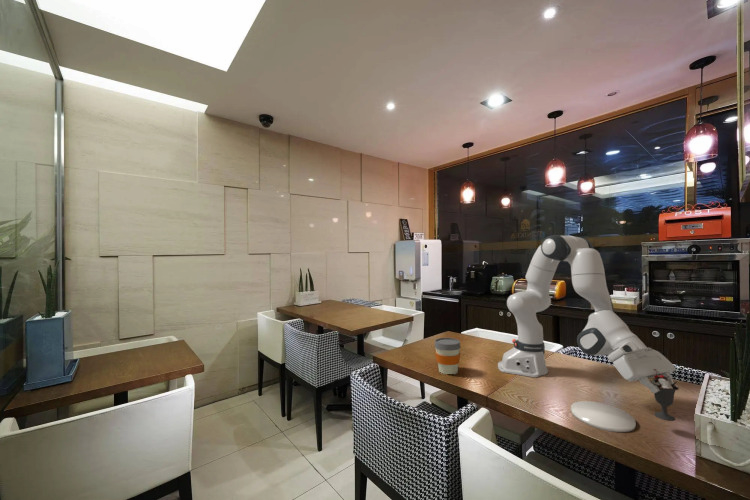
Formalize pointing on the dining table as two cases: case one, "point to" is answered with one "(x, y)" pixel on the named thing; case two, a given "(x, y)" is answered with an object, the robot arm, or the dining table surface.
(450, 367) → the reusable coffee cup
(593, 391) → the dining table surface
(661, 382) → the sundae
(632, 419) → the serving plate
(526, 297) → the robot arm
